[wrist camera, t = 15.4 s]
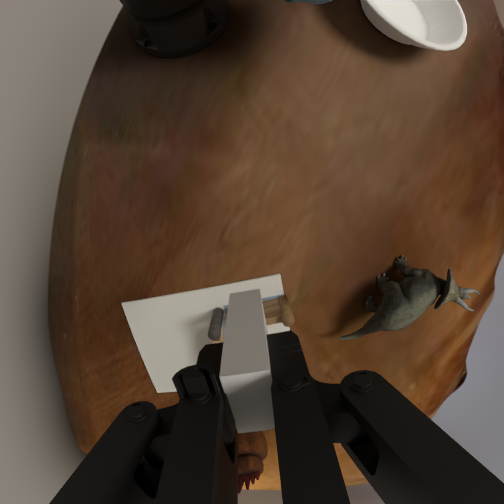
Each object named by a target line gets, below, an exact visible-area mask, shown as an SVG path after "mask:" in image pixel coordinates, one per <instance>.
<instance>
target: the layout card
mask: <svg viewBox="0 0 504 504" xmlns="http://www.w3.org/2000/svg"><path fill="white" fill-rule="evenodd" d="M254 289H260V292H261V298H262V301H266V300H271V299H276V298H278V297H279V296H281V295H284V293H283V287H282V282H281V276H280V274H275V275H270V276H265V277H260V278H254V279H249V280H244V281H239V282H234V283H229V284H223V285H218V286H213V287H207V288H202V289H197V290H191V291H186V292H180V293H174V294H169V295H163V296H157V297H152V298H146V299H140V300H134V301H128V302H122V303H121V304H122V307H123V309H124V312H125V315H126V318H127V321H128V323H129V326H130V329H131V331H132V334H133V337H134V339H135V342H136V344H137V347H138V349H139V352H140V354H141V357H142V359H143V361H144V364H145V366H146V369H147V371H148V373H149V375H150V378H151V380H152V382H153V384H154V386H155V389H156V391H157V393H161V392H175V391H177V390H176V388H175V386H174V383H173V381H172V378H173V376H174V375H175V373H177V372H178V371H179V370H181V369H183V368H185V367H187V366H192V365H196V363H197V359H198V355H199V352H200V350H201V349H202V348H203V347H204V346H205V345H206V344H212V340H211V339H210V338H209V337H208V331H209V326H210V322H211V318H212V314H213V310H214V309H215V308H217V307H219V308H222V309H223V311H224V314H223V320H222V325H223V336H224V335H225V322H226V314H227V308H228V303H229V295H230V293H236V292H242V291H248V290H254ZM267 331H268V334H273V333H279V332H285V331H290V328H289V327H286V326H284V325H283V323H277V324H272V325H267Z"/></svg>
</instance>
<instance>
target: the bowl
mask: <svg viewBox="0 0 504 504" xmlns="http://www.w3.org/2000/svg"><path fill="white" fill-rule="evenodd" d="M360 1H361V5H362V9H363V11H364V13H365V15H366V16H367V18H368V19H369V21H370V22H371V23H372V24H373V25H374V26H375V27H376V28H377V29H378V30H379V31H381V32H382V33H383V34H385V35H386V36H388V37H389V38H391V39H393V40H395V41H398V42H400V43H403V44H407V45H414V46H417V47H421V48H424V49H434V50H444V51H448V50H454V49H456V48H458V47H460V46H461V45H462V44H463V42H464V41H465V38H466V35H467V24H466V19H465V16H464V13H463V11H462V8H461V6H460V5H459V3H458V1H457V0H360Z"/></svg>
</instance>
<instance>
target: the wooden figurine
mask: <svg viewBox="0 0 504 504" xmlns="http://www.w3.org/2000/svg"><path fill="white" fill-rule="evenodd" d="M235 436H236V439H237V442H238V493H240V492H241V489H242V486H243V483H244V481H245V485H246V489H247V490H249V485H250V479H251V482H252V484H254V482H255V478H256V479H257V480H259V476H260V474H261V473H262V472H263V462H262V461H263V460H264V459H265V457H266V456H267V442H266V439H265V436H264V434H263V432H262V431H255V432H246V433H238V432H237V430H236V431H235Z"/></svg>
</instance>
